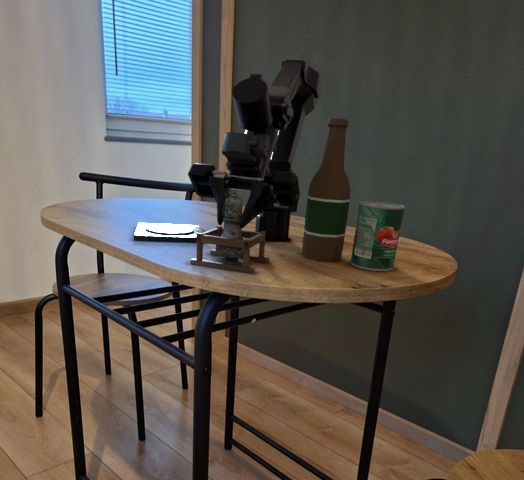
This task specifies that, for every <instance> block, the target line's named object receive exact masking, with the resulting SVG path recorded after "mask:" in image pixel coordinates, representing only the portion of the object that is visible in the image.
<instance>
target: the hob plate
mask: <svg viewBox="0 0 524 480" xmlns="http://www.w3.org/2000/svg"><path fill="white" fill-rule="evenodd" d="M203 232H204V228H203V226H202V225H199V224H198V225H197V224H175V223H174V224H173V223H152V222H151V223H149V222H138V223H137V225H136V227H135V230H134V234H133V241H140V242H141V241H142V242H166V243H167V242H170V243H196V244H197V233H203Z"/></svg>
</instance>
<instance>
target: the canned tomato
mask: <svg viewBox="0 0 524 480" xmlns="http://www.w3.org/2000/svg"><path fill="white" fill-rule="evenodd" d="M358 205H359V206H358V211H357V218H356V225H355V231H354V239H353V245H352V251H351V258H350V259H351V260H350V262H349V263H350V265H351V266H353V267H355V268H357V269H360V270H366V271H373V272H389V271H392V270H394V266H395V261H396V257H397V251H398V246H399V241H400V234H401V230H402V229H401V228H402V225H403V224H402V223H403V219H404V212H405V209H406V206H405V205H403V204H400V203H399V204H398V203H394V202H386V201H376V200H375V201H373V200H362V201H359V204H358Z"/></svg>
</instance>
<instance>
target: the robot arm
mask: <svg viewBox="0 0 524 480" xmlns="http://www.w3.org/2000/svg"><path fill="white" fill-rule="evenodd" d="M322 90H323V82H322V78H321V75H320V72H318V71H317V70H316V69H314V68H313V67H312V66H310V64H309V62H308V60H305V59H304V58H286V59H283V60H282V62H281V67H280V69H279V71H278V72H277V74H276V75H275V77H274V78H273V79H272V81H271V83H270V84H269V86H268V84H267V82H266V81H264V78H263V74H261V73H250V75H249V77H248V78H245V79H243V80H241V81H239V82H238V83H237V84H235V85H233V87H232V89H231V95H232V100H233V103H234V107H235V112H236V116H237V119H238V123H239V127H240V129H243V130H244V131H245V132H233V131H227V132H225V134H224V139H223V145H222V149H221V154H222V155H223V156H224V157H225V159H226V163H225V167H226V170H227V171H230V173H227V172H226V171H224V170H217V169H216V166H215V164H209V163H208V164H207V163H194V162H193V163H192V164H191V166H190V168H189V170H188V172H187V176H188V178H189V181H190V183H191V186H192V187H193V190H194V192H195V195H196V196H199V197H201V198H208V199H214V200H215V201H216V218H217V219H216V220H217V224H218V225H217V226H223V224H224V220H223V219H222V218H224V217H225V201H226V199H227V198H228V197H230V196H231V195H230V191H234V190H235V191H236V192H237V191H238V192H245V193H246V192H247V193H249V196H248V199H247V202H246V204H245V206H244V209H243V210H242V216H241V220H240V224H239V225H240V228H242V229H244V228H246V226H247V225H249V224H250V223H251V222H252V221H253V220H255V230H254V232H261V231H263V232H266V237H265V242H267V241H268V242H269V241H272V242H273V241H279V242H280V241H283V242H286V241H287V242H289V241H292V238H291V237H289V235H290V234H289V233H290V223H291V213H297V212H298V206H299V205H298V204H299V200H300V197H301V195H300V194H301V192H300V185H299V178H298V175H297V174H296V172H293V167H292V166H293V163H294V158H295V155H296V152H297V148H298V145H299V140H300V137H301V133H302V130H303V126H304V122H305V118H306V116H308V115H310V113H312V112H313V111H314V110H315V109H316V107H317V103H318V100H319V99H320V98H321V95H322Z"/></svg>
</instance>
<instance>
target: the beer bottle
mask: <svg viewBox="0 0 524 480" xmlns="http://www.w3.org/2000/svg"><path fill="white" fill-rule="evenodd" d="M349 125H350V124H349V120H348V119H346V118H341V117H329V118H328V120H327V122H326V126H327V132H326V136H325V143H324V148H323V154H322V160H321V162H320V163H321V164H320V166H319V169H318V170H317V171H316V172H315V174H314V175H313V176H312V179H311V181H310V183H309V186H308V192H307V197H306V208H305V217H304V228H303V237H302V248H301V249H302V250H301V251H302V252H301V253H302V255H303V256H304V257H305V258H306V259H309V260H313V261H318V262H335V261H339V260H341V259H342V257H343V250H344V246H345V245H344V244H345V237H346V230H347V224H348V217H349V207H350V201H351V183H350V179H349V177H348V175H347V173H346V171H345V151H346V140H347V129H348V127H349Z"/></svg>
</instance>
